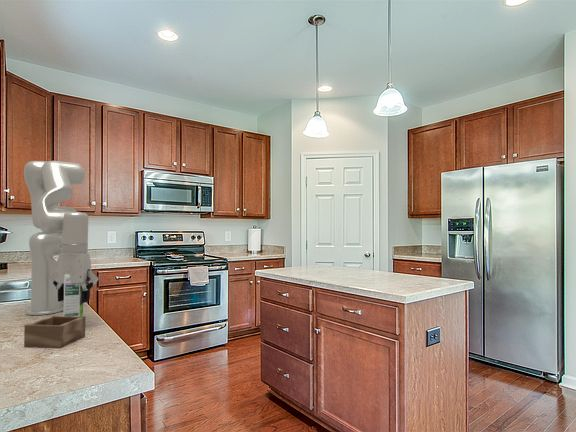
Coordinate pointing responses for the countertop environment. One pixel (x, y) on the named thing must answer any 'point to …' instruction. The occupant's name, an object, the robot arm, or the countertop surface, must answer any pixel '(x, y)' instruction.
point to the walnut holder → (54, 331)
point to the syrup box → (72, 298)
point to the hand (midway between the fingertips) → (73, 301)
